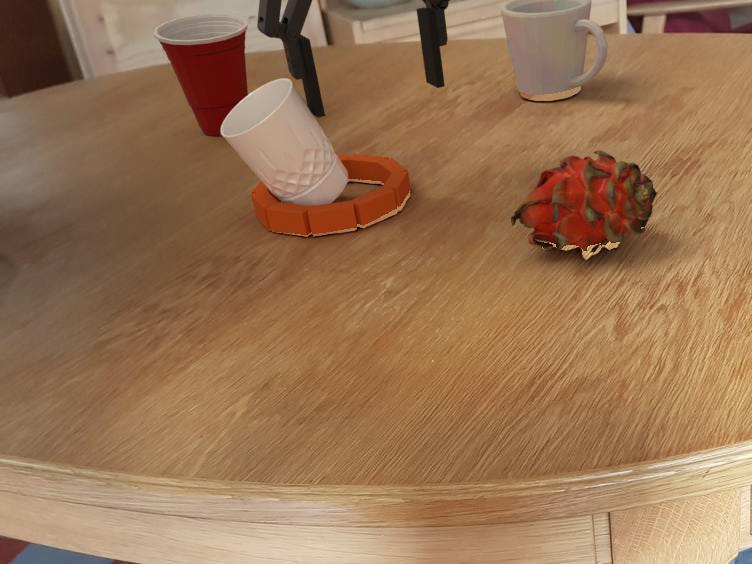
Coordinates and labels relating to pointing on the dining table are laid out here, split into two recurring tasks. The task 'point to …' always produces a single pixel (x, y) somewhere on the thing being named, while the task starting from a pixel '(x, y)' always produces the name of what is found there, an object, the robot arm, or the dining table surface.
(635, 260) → the dining table surface
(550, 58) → the mug
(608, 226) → the dragon fruit
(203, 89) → the plastic cup
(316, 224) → the ring
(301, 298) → the dining table surface
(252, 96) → the white cup
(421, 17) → the robot arm
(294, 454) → the dining table surface
